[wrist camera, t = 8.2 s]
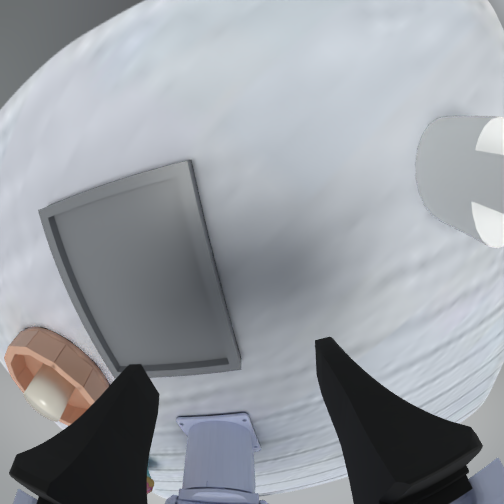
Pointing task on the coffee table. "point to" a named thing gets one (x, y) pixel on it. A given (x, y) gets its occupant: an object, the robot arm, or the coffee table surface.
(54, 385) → the smooth grey cylinder
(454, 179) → the grey white cylinder
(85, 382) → the terracotta bowl
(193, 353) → the parts tray
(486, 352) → the coffee table surface
